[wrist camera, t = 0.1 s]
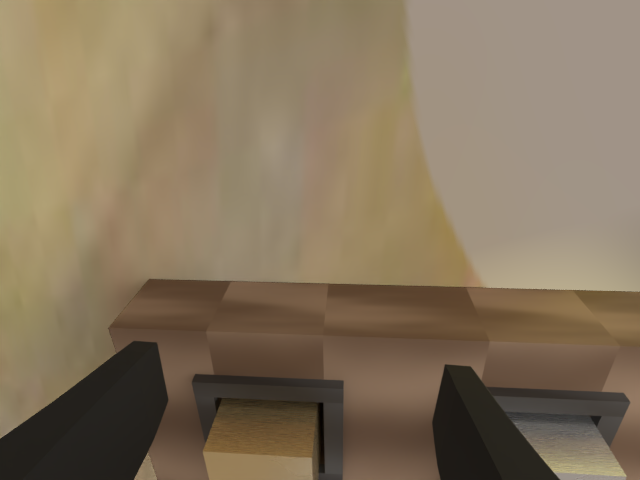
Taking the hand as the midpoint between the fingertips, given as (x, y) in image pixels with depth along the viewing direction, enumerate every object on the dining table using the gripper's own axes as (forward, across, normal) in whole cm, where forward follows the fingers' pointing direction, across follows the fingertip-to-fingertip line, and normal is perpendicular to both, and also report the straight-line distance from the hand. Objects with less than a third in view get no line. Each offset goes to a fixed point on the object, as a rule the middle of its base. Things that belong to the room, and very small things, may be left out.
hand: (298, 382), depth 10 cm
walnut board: (+10, -4, +9) cm, 14 cm away
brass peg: (+8, +2, +10) cm, 12 cm away
